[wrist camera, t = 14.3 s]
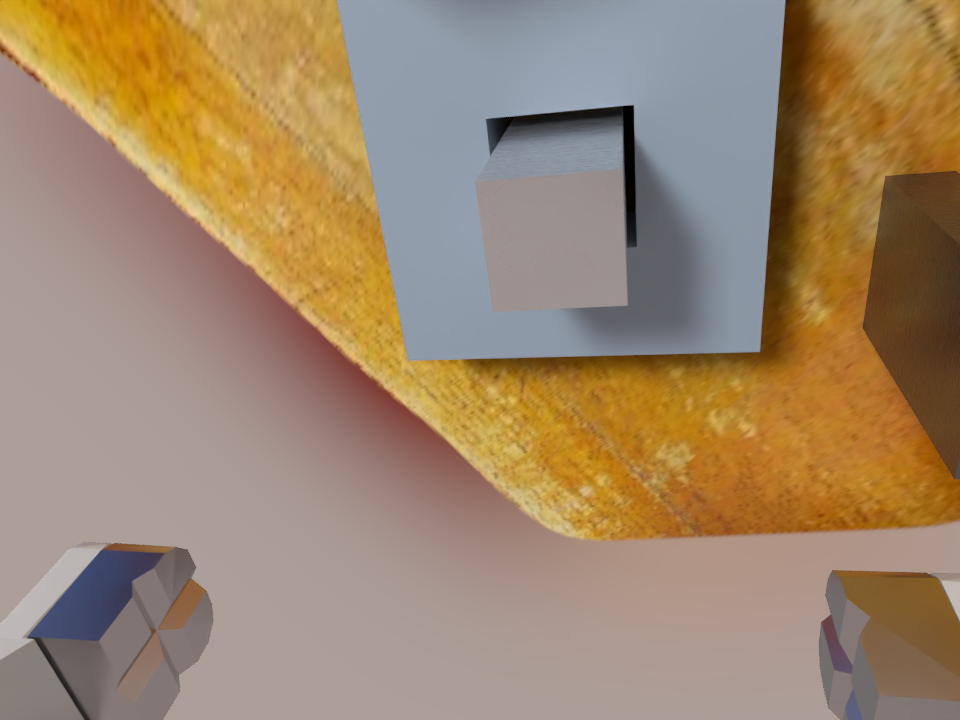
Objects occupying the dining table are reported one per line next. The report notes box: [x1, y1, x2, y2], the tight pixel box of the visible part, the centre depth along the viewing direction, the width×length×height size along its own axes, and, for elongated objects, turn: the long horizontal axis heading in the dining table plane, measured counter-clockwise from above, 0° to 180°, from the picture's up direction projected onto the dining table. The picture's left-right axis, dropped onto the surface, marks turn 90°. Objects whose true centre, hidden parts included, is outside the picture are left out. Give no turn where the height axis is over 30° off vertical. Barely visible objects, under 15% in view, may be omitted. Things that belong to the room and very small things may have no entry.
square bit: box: [475, 106, 628, 312], centre depth 25 cm, size 4×4×10 cm
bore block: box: [337, 0, 785, 361], centre depth 27 cm, size 14×14×4 cm
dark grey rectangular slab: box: [863, 171, 960, 479], centre depth 25 cm, size 2×6×10 cm, turn 8°
